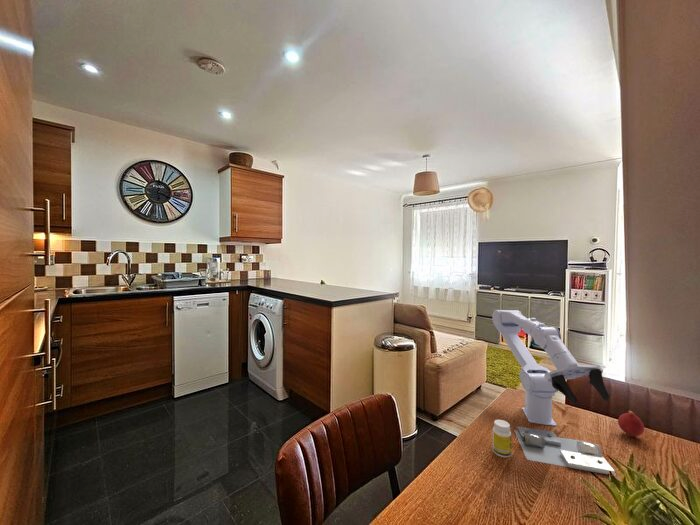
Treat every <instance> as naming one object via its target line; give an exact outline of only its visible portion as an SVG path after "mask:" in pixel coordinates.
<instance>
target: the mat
mask: <svg viewBox="0 0 700 525" xmlns="http://www.w3.org/2000/svg"><path fill="white" fill-rule="evenodd" d="M513 431H514V433H515V435H516V436H515V437H516V438H517V440H518V443H519V444H520V447H521V449H522V452H523V454H524V456H525V458H526V460H527V461H532V462H537V463H543V464H549V465H556V466H560V467H566V468H569V467H568V466H567V464H566V463H565V461H564V459H563V458H562V456H561V455H560V450H565V451H571V452H577V453H579V452H578V450H577V441H580V442H586V443H590V441H585V440H578V439H572V438H565V437H559V436H557V438H558V439H559V441H560V442H561V447H559V446H553V445H547V444H545V448H539V447H533V446H527V445H525V444H524V442H523V441H522V440H521V437H520V435H519V432H518V430H517V429H516V430H513ZM615 476H616V477H617V474H615Z"/></svg>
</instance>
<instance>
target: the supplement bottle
mask: <svg viewBox="0 0 700 525" xmlns="http://www.w3.org/2000/svg"><path fill="white" fill-rule="evenodd" d="M491 447H492V452H493V453H494V454H495V455H496V456H498V457H501V458H509V457H511V456H512V432H511V424H510V423H509V422H508V421H506V420H503V419H495V420H494V423H493V427H492V446H491Z"/></svg>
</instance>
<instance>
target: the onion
mask: <svg viewBox="0 0 700 525" xmlns="http://www.w3.org/2000/svg"><path fill="white" fill-rule="evenodd" d="M617 423H618V425H619V428H620V429H621V430H622V431H623V433H625V434H626V435H627V436H628V437H631V438H632V437H633V438H634V437H639V436H641V435H642V434H643V433H644V432H645V425H644V423H643V421H642V420H641V418H640V417H639V416H637V414H635V413H634V412H633V411H631V410H627V412H625V413H622V414H621V415H619V417H618V420H617Z"/></svg>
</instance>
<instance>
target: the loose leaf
mask: <svg viewBox="0 0 700 525" xmlns="http://www.w3.org/2000/svg"><path fill="white" fill-rule="evenodd" d="M580 441H581V440H579V441H577V450H578V452H579V453H577V452H571V451H565V450H560V455H561V456H562V458H563V459H564V461H565V463H566V464H567V466H568V467H567V468H570V469H575V470H581V471H586V472H591V473H592V472H593V473H597V474H604V475H608V473H609V471H611V472H612V474H614V476H615V475H616V474H615V472H616V471H615V470H614V468H613V467H612V466H611V465H610V463H609V462H608V461H607V460H606V458H605V457H604V456H603V451H602V448H601V446H600V445H599V444H597V443H593V442H592V443H591V442H589V443H586V442H587V441H586V442H580Z"/></svg>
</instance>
